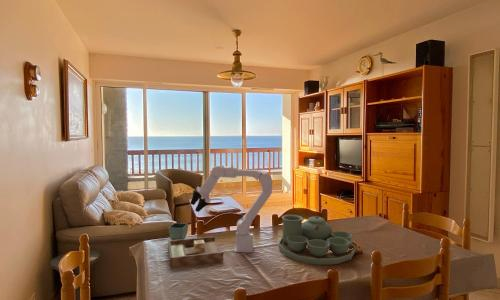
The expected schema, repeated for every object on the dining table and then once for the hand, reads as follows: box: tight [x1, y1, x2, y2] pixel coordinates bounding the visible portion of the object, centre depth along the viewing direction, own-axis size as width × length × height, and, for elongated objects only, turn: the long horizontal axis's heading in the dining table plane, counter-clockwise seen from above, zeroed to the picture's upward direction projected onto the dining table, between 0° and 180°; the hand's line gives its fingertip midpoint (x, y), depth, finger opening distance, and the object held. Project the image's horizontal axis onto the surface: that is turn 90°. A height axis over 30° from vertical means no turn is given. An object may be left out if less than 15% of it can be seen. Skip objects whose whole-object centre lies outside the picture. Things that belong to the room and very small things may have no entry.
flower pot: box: [168, 222, 189, 240], centre depth 179 cm, size 9×9×9 cm
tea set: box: [278, 214, 356, 266], centre depth 166 cm, size 40×40×16 cm
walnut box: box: [167, 235, 224, 268], centre depth 159 cm, size 25×24×4 cm
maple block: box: [194, 240, 205, 252], centre depth 159 cm, size 5×5×4 cm
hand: (194, 207), depth 163 cm, fingers open, 7 cm apart
